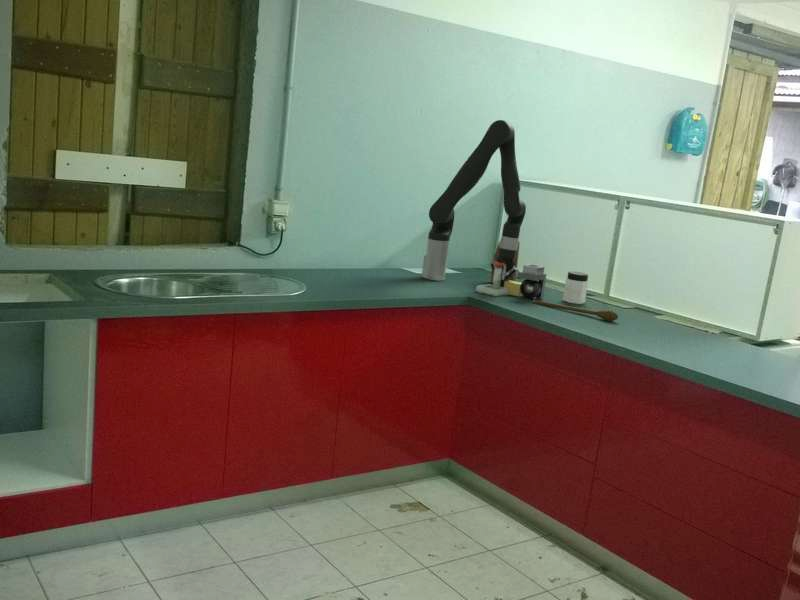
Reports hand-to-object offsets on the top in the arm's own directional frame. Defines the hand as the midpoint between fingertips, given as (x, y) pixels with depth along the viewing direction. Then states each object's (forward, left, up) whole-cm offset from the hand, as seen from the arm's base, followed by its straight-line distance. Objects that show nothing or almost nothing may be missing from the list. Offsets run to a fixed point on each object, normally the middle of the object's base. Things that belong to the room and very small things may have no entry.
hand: (500, 287), depth 335 cm
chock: (+6, 0, -1) cm, 7 cm away
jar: (+27, +14, -2) cm, 30 cm away
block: (-9, +16, -2) cm, 18 cm away
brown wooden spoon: (+38, -7, -2) cm, 38 cm away
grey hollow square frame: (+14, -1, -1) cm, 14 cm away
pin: (+1, -6, -1) cm, 6 cm away
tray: (+1, -8, -1) cm, 8 cm away
